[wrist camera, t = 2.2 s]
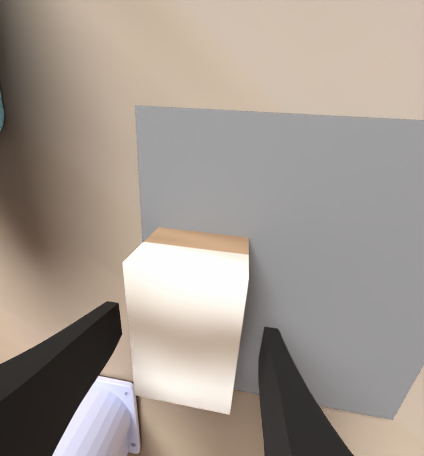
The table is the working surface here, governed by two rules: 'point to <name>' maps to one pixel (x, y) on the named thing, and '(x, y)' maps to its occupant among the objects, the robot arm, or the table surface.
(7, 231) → the table surface
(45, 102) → the table surface
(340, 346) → the desk mat
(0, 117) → the data package
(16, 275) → the table surface
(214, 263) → the metal box
